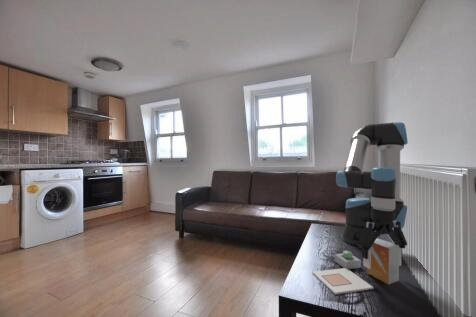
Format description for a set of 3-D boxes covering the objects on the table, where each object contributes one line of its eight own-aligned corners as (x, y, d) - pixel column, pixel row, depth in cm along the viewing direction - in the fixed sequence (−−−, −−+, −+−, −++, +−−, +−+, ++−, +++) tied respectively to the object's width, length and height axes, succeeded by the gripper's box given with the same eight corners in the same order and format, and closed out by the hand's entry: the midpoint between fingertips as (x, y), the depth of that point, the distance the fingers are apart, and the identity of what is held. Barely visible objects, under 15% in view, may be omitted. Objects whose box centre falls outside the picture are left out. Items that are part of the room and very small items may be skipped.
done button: (347, 255, 90) (347, 250, 90) (353, 259, 87) (353, 253, 87) (341, 256, 90) (341, 251, 90) (346, 259, 86) (346, 254, 86)
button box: (348, 259, 92) (348, 252, 92) (360, 267, 86) (360, 260, 86) (334, 261, 91) (334, 254, 91) (346, 269, 84) (346, 261, 84)
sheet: (346, 269, 84) (346, 267, 84) (373, 289, 71) (373, 287, 71) (312, 273, 81) (312, 271, 81) (334, 294, 68) (334, 292, 68)
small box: (366, 273, 81) (366, 239, 81) (376, 270, 84) (376, 237, 84) (388, 285, 74) (389, 248, 74) (399, 281, 76) (399, 245, 77)
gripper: (399, 205, 85) (399, 258, 85) (346, 207, 80) (346, 263, 80) (419, 209, 78) (419, 267, 78) (362, 211, 73) (361, 273, 72)
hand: (382, 265), depth 79 cm, fingers open, 13 cm apart
